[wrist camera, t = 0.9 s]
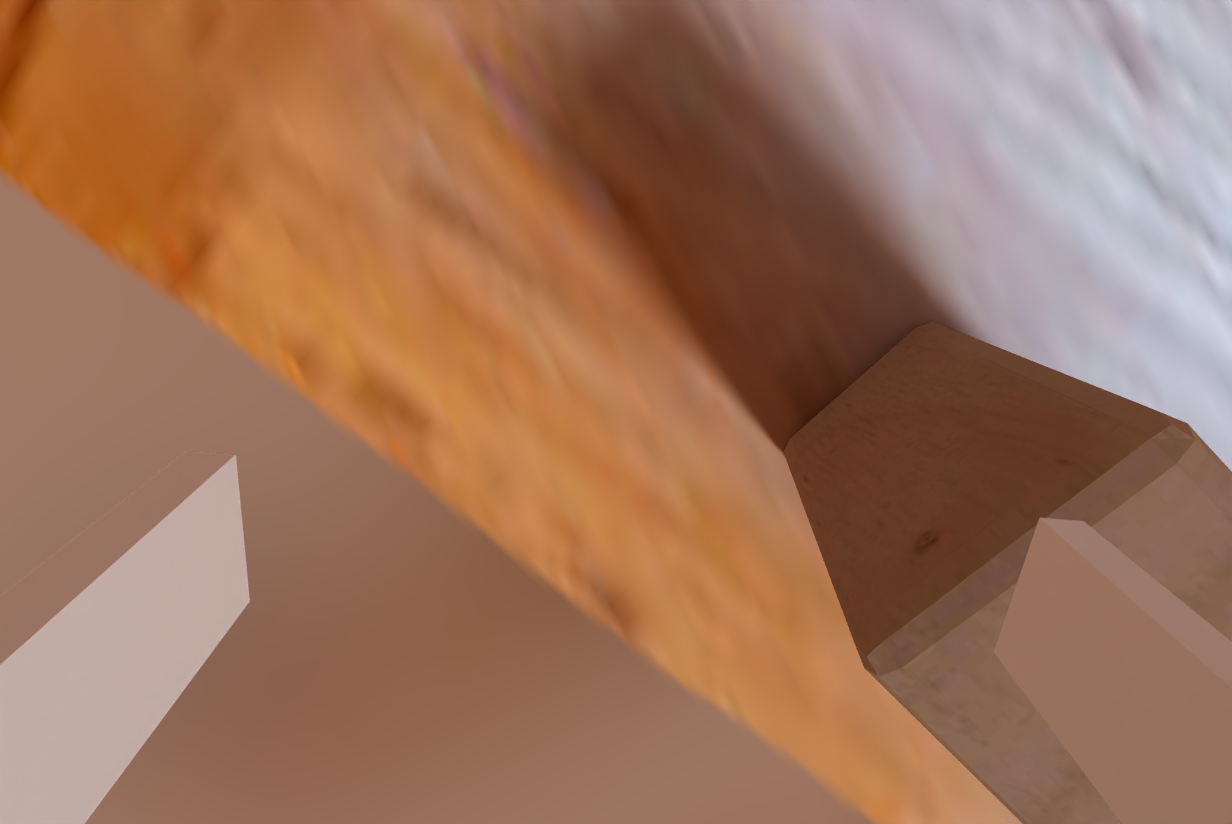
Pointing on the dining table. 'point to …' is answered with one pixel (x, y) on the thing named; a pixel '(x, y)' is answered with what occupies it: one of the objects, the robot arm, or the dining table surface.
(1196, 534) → the wooden block
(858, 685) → the dining table surface
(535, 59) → the dining table surface
